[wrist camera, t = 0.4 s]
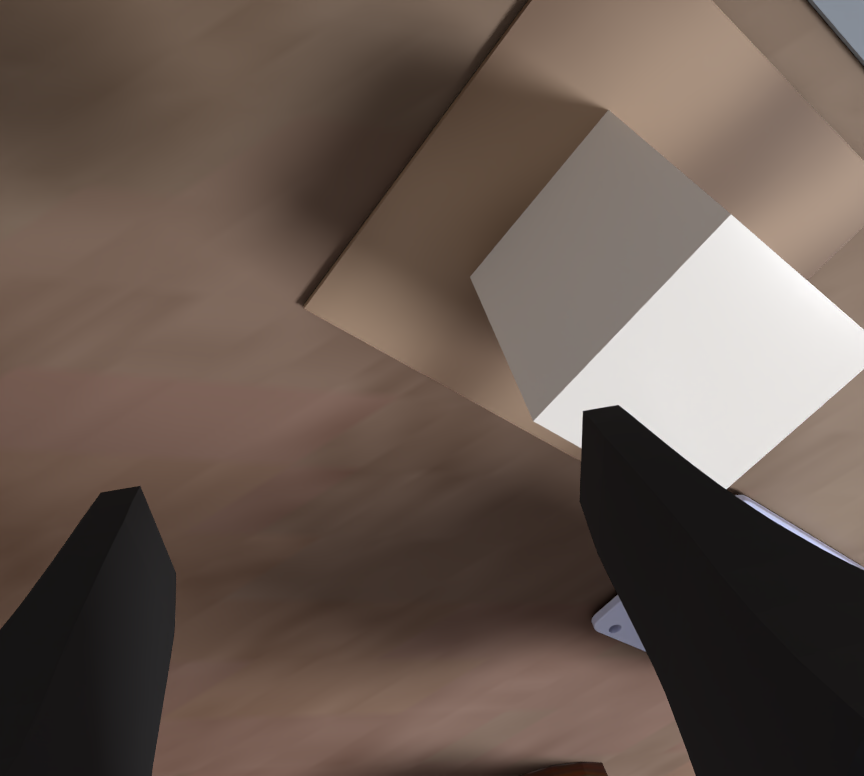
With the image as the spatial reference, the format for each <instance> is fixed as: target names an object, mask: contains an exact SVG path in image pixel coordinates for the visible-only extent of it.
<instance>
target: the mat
mask: <svg viewBox="0 0 864 776" xmlns="http://www.w3.org/2000/svg"><path fill="white" fill-rule="evenodd" d="M808 1H809V3H810V4H811V5H812V6H813V7H814V8H815V10H816V11H817V12H818V13H819V14H820V15H821V17H822V18H823V19H824V20H825V21H826V22H827V24H828V25H829V26H830V27H831V28H832V29H833V30H834V32H835V33H836V34H837V35H838V36H839V37H840V39H841V40H842V41H843V42H844V43H845V44H846V46H847V47H848V48H849V49H850V50H851V51H852V53H853V54H854V55H855V56H856V57H857V58H858V60H859V61H860V62H861V63H862V64H863V65H864V0H808Z"/></svg>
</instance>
